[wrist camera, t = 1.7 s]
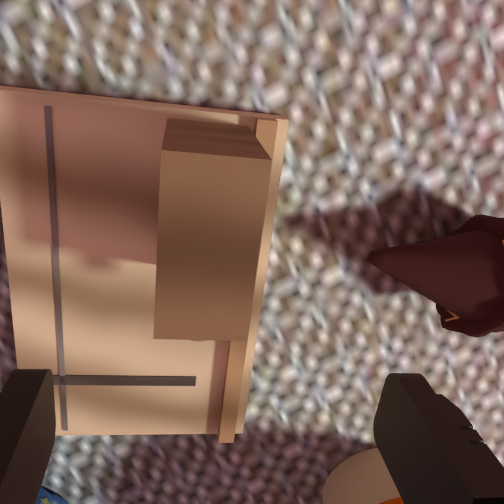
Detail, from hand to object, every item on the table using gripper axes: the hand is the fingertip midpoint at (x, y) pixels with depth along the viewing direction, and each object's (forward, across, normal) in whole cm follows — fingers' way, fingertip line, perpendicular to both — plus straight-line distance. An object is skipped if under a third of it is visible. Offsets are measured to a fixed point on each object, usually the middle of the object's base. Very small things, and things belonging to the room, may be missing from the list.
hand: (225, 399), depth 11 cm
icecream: (+17, -16, +3) cm, 24 cm away
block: (+15, 0, 0) cm, 15 cm away
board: (+17, +3, +6) cm, 18 cm away
